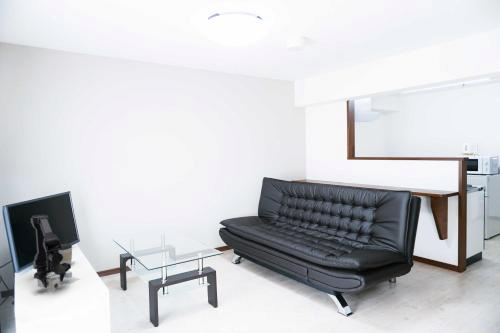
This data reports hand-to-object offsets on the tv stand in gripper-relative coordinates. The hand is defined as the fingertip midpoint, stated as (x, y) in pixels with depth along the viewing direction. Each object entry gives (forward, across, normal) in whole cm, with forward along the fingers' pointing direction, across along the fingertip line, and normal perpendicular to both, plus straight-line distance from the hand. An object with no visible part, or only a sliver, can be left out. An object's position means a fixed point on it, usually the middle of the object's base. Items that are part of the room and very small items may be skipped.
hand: (54, 284), depth 197 cm
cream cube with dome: (+1, 0, +2) cm, 2 cm away
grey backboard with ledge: (+2, +5, +2) cm, 6 cm away
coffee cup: (+2, +24, +28) cm, 37 cm away
